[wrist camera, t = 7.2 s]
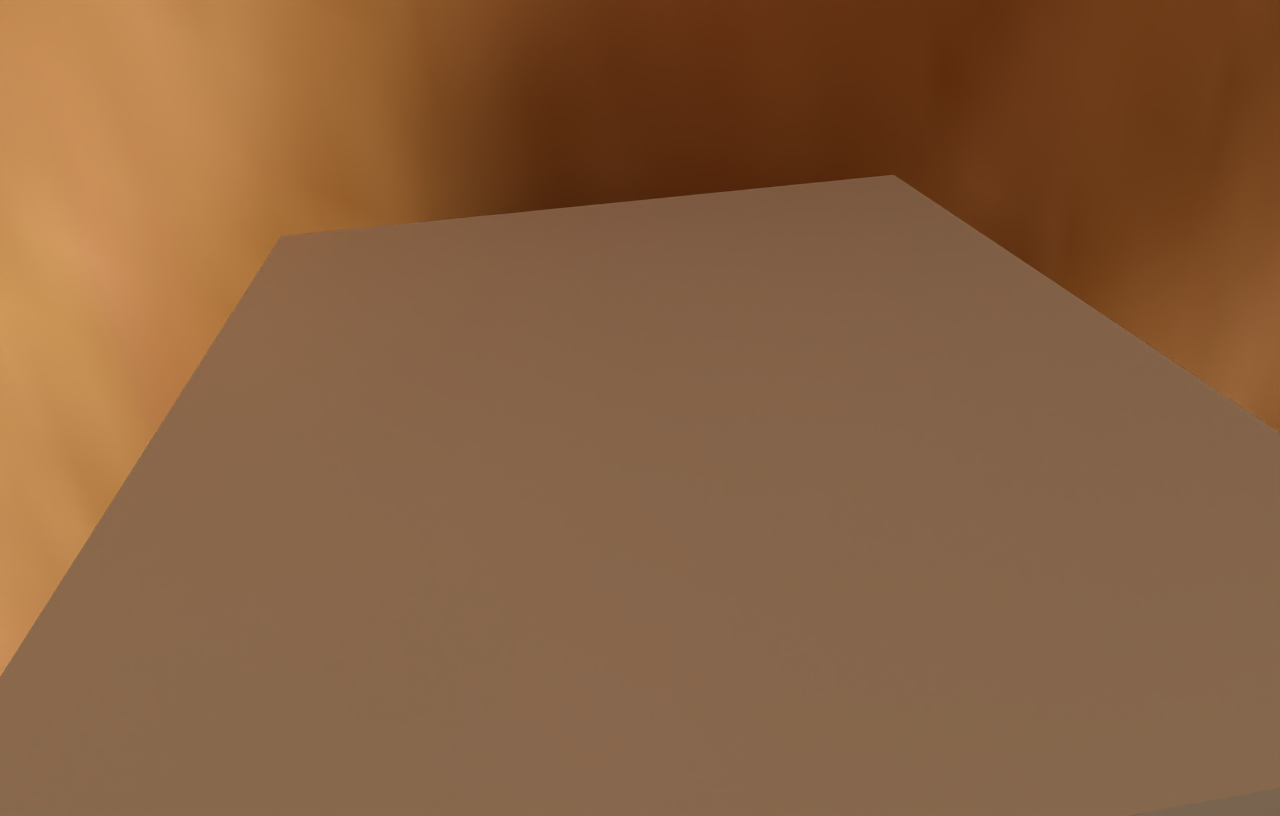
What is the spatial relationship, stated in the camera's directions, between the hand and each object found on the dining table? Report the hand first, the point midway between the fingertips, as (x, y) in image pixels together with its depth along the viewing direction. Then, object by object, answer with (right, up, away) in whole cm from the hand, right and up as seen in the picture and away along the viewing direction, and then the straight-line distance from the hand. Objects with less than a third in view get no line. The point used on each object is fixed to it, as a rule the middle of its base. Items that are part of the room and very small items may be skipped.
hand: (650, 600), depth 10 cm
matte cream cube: (0, +1, +3) cm, 3 cm away
